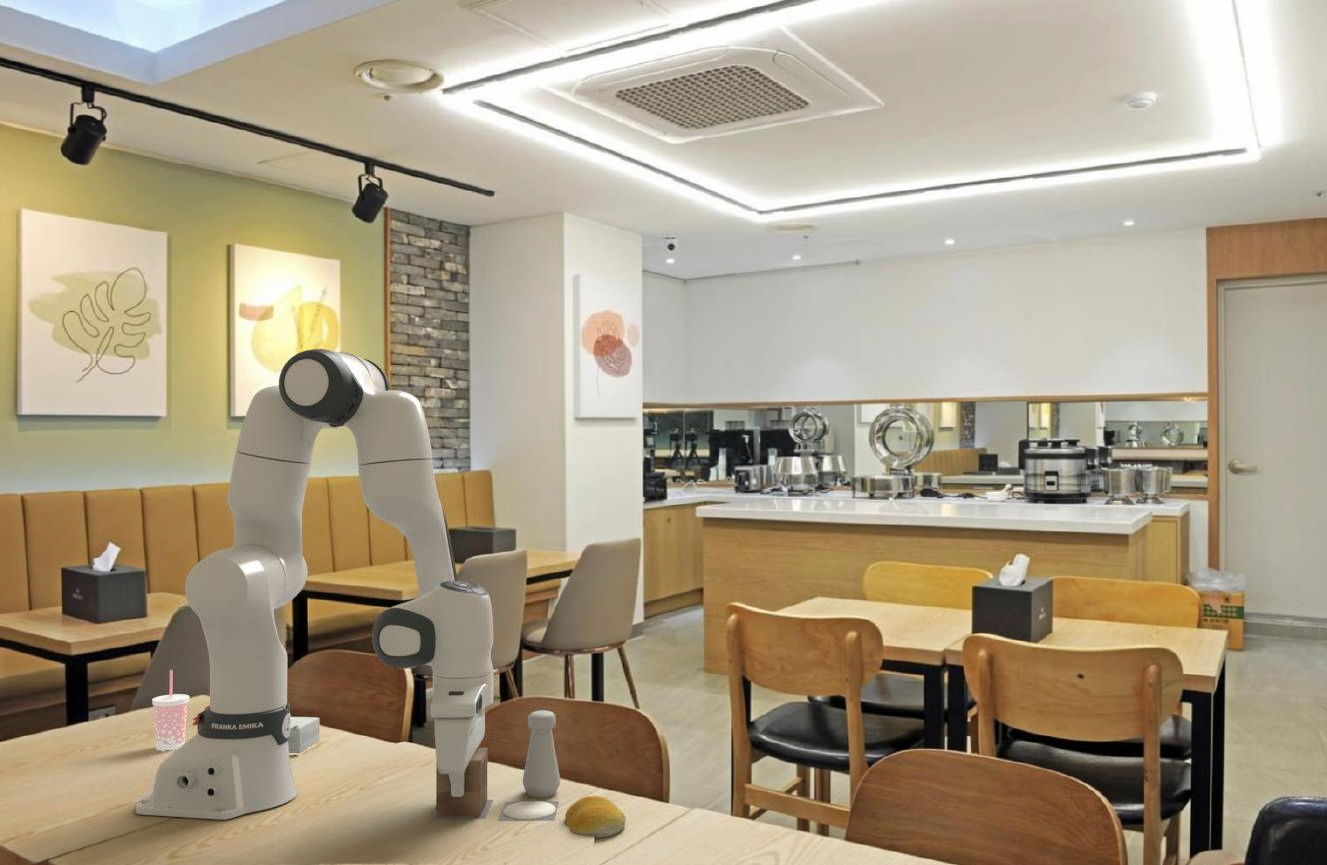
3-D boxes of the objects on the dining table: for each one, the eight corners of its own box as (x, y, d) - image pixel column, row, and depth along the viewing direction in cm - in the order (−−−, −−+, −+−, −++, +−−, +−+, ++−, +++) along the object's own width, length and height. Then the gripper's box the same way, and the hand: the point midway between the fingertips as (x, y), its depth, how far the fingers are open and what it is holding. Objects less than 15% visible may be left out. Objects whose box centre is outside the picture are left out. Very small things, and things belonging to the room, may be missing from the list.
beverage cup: (178, 752, 181) (179, 673, 182) (144, 752, 181) (145, 673, 182) (195, 742, 187) (196, 666, 188) (162, 742, 187) (163, 666, 188)
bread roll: (577, 843, 138) (577, 814, 138) (560, 821, 147) (560, 794, 147) (634, 835, 141) (634, 806, 141) (614, 814, 150) (614, 787, 150)
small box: (280, 743, 188) (280, 715, 188) (320, 744, 187) (320, 716, 187) (257, 755, 180) (258, 726, 180) (299, 757, 179) (299, 727, 179)
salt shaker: (553, 804, 154) (553, 717, 154) (517, 801, 155) (517, 715, 155) (564, 791, 159) (565, 708, 160) (530, 789, 161) (530, 706, 161)
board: (429, 822, 146) (429, 783, 146) (440, 803, 154) (440, 766, 154) (485, 822, 146) (485, 782, 146) (493, 803, 154) (493, 766, 154)
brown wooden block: (436, 816, 147) (436, 760, 147) (444, 801, 153) (444, 748, 153) (480, 816, 147) (480, 760, 147) (487, 801, 153) (487, 747, 153)
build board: (498, 824, 145) (498, 819, 145) (505, 805, 153) (505, 800, 153) (554, 823, 145) (554, 818, 145) (558, 805, 153) (558, 799, 153)
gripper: (454, 677, 161) (454, 765, 160) (427, 708, 140) (427, 809, 140) (494, 677, 161) (494, 765, 160) (473, 708, 140) (473, 809, 140)
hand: (462, 786), depth 150 cm, fingers closed on brown wooden block, 6 cm apart
